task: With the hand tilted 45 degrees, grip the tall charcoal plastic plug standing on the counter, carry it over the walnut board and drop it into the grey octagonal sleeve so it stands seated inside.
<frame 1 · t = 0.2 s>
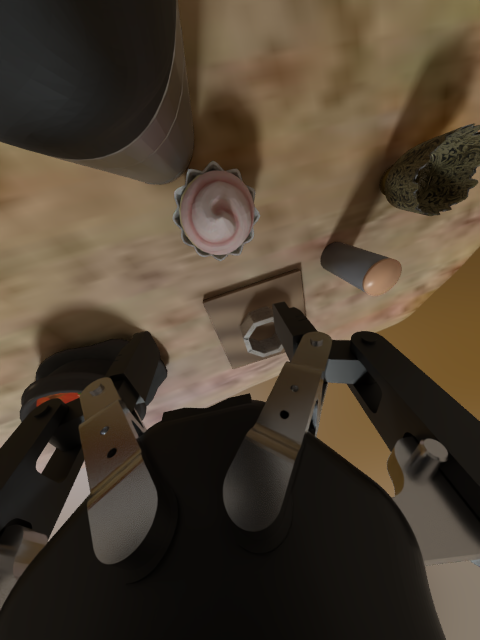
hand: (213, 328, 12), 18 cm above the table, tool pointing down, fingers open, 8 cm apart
plug: (333, 256, 31), on the table
board: (260, 323, 35), on the table
casserole: (105, 378, 36), on the table
cup: (388, 180, 26), on the table
cupcake: (214, 213, 25), on the table
grey octagonal sleeve: (262, 326, 34), resting on board
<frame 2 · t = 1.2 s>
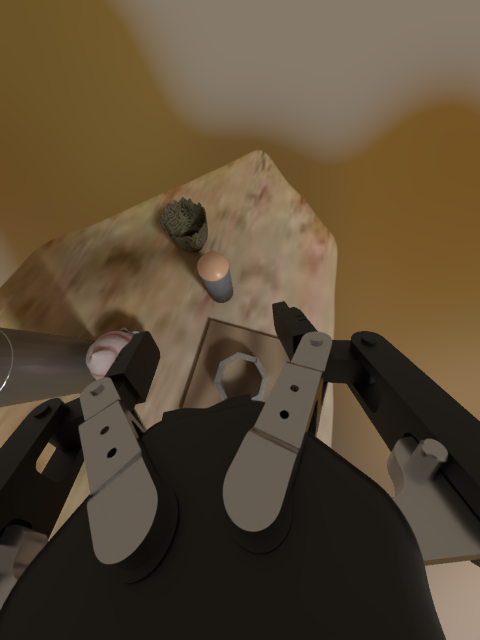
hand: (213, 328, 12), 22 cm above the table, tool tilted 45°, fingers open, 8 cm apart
plug: (221, 291, 37), on the table
board: (241, 377, 33), on the table
cup: (195, 246, 39), on the table
cupcake: (137, 357, 35), on the table
grey octagonal sleeve: (241, 378, 32), resting on board
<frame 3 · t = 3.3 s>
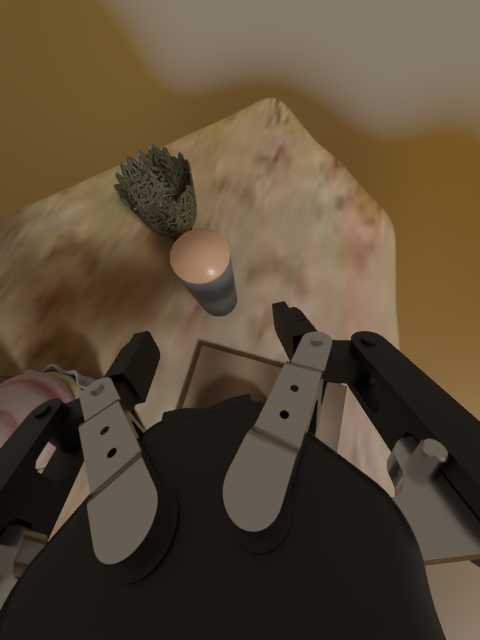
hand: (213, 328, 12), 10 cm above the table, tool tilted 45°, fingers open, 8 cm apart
plug: (219, 299, 24), on the table
board: (252, 440, 20), on the table
cup: (180, 231, 26), on the table
cupcake: (86, 405, 22), on the table
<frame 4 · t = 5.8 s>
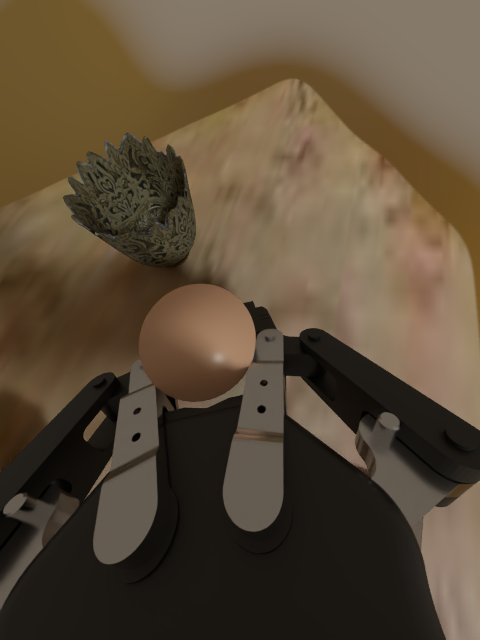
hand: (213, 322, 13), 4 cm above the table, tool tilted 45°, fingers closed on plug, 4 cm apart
plug: (226, 353, 17), on the table, touching gripper
cup: (174, 254, 20), on the table
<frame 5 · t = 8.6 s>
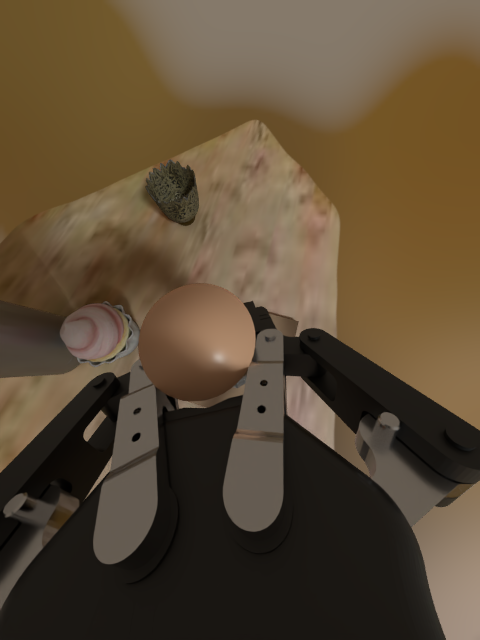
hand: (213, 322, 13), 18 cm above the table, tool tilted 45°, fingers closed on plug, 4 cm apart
plug: (226, 352, 17), point 14 cm above the table, touching gripper
board: (235, 357, 30), on the table
cup: (187, 219, 36), on the table
cupcake: (122, 337, 32), on the table
when the fingers open (7 cm above the table, at t = 11.5 s): plug drops 2 cm, resting on board.
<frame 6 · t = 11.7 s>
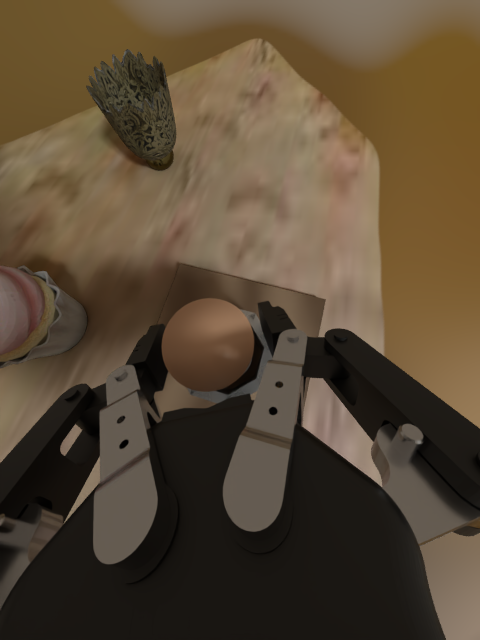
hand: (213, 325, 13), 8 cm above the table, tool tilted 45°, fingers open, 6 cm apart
plug: (229, 355, 19), point 1 cm above the table, touching board
board: (229, 354, 20), on the table
cup: (162, 163, 26), on the table
cupcake: (62, 325, 22), on the table
grey octagonal sleeve: (228, 354, 19), resting on board
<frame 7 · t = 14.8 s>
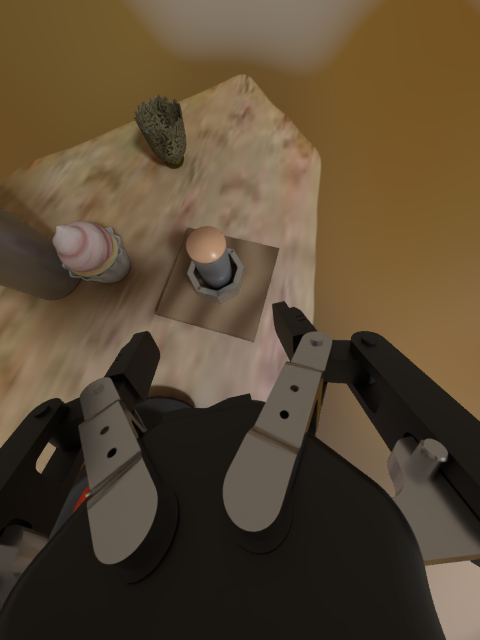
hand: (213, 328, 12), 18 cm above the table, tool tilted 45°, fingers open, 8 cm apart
plug: (219, 280, 31), point 1 cm above the table, touching board
board: (219, 282, 32), on the table
casserole: (159, 492, 26), on the table
cup: (176, 163, 38), on the table
cupcake: (113, 267, 34), on the table
grey octagonal sleeve: (219, 280, 31), resting on board
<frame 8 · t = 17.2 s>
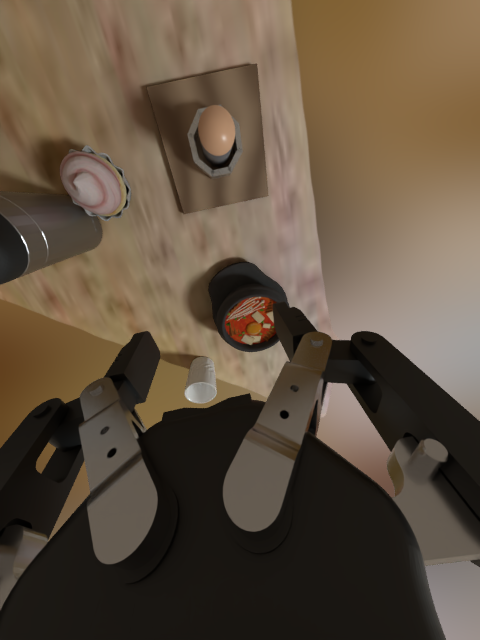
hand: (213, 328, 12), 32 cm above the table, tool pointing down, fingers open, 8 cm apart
plug: (216, 148, 31), point 1 cm above the table, touching board
board: (215, 150, 32), on the table
casserole: (249, 307, 49), on the table
white cup: (202, 364, 57), on the table
cupcake: (111, 188, 33), on the table
grey octagonal sleeve: (215, 148, 31), resting on board
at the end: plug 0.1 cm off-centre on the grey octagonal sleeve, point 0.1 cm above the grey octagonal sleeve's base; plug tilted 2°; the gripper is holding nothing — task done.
